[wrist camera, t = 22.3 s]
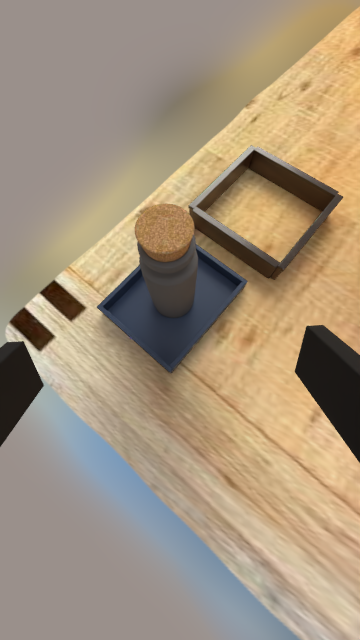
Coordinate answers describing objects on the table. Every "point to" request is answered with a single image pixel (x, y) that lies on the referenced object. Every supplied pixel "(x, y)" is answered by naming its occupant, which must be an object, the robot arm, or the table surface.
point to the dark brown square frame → (284, 178)
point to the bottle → (168, 257)
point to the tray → (173, 333)
